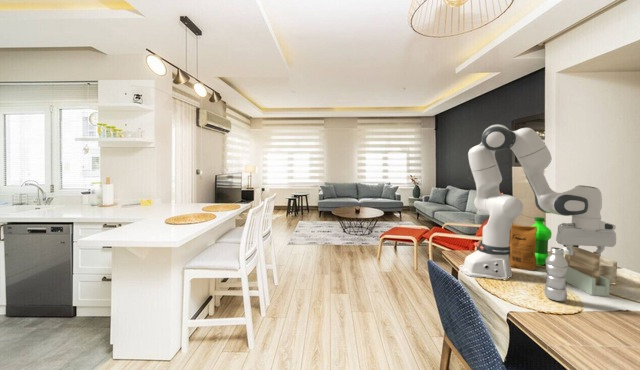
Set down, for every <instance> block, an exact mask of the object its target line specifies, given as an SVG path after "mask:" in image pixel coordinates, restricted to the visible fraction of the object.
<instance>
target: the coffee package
mask: <svg viewBox="0 0 640 370" xmlns="http://www.w3.org/2000/svg"><path fill="white" fill-rule="evenodd" d="M536 232H537V227H536V226H532V225H518V224H514V223H513V224H512V226H511V230H510V241H509V246H510V257H509V260H510V268H517V269H520V270H527V271H535V270H536V268H537V264H536V257H535V248H536Z"/></svg>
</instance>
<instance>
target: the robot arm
mask: <svg viewBox="0 0 640 370" xmlns="http://www.w3.org/2000/svg"><path fill="white" fill-rule="evenodd" d="M507 149H510V151H512V152H513V154H514V155H515V157H516V158H517V161H518V163H519V164H520V166H521V167H522V170H523V172H524V173H523V174H524V175H525V178H526V179H527V182H528V183H529V187H530V188H531V190H532V192H533V194H534V203H535V206H536V208H537V209H538V210H539V211H541V212H542V213H545V214H553V215H556V216H557V215H558V216H564V217H570V216H571V223H570V222H569V223H566V222H562V223H560V224H559V225H557V231H556V237H555V241H556V242H557V243H558V244H560V245H562V246H563V245H566V248H567V249H568V250H569V251H568V254H569V255H574V256H575V251H573V250H572V248H573V245H579V247H580V246H584V247H585V246H586V247H587V246H588V247H596V248H597V249H596V250H595V251H593V253H595V254H598V255H600V257H602V253H603V252H604V250H605V248H607V247H609V248H612V247H613V248H614V247H615V246H616V244H617V233H616V231H615V230H616V228H617V227H616V225H615V224H612V223H609V222H606V221H603V220H602V215H601V210H602V208H603V207H602V206H603V194H602V192H601V190H600V189H599V188H598V187H595V186H590V185H589V186H588V185H582V184H581V185H576V186H574V187H573V188H572V189H568V190H567V191H563V192H558V191H554V190H553V189H552V188H551V187H550V185H549V183H548V180H547V179H546V176H545V174H544V171H545V169H547V168H548V167H549V165H550V164H551V162H552V158H553V157H552V154H551V152H550V150H549V148H548V146H547V145H546V143H545V142H544V140H543V139H542V138H541V137H540V136H539V134H538V133H537V132H536V131H535V130H534V129H533V128H531V127H523V128H522V127H521V128H519V129H517V130H510V129H509V128H508V127H507V126H506V125H504V124H501V123H498V124H497V123H496V124H491V125H489V126H488V127H486V128H485V129H484V131H483V132H482V135H481V141H480V143H479V144H477V145H475V146H473V147H470V148H469V150H468V153H467V157H468V163H469V167H470V170H471V174H472V176H473V180H474V183H475V188H476V196H475V198H474V201H473V202H474V203H473V204H474V207H475V208H476V210H478V211H479V212H480V213H482V214H486V215H488V217H489V218H488V221H487V223H486V224H484V225H483V226H482V237H481V238H482V239H481V243H479V242H474V243H473V245H474V246H475V248H477V250H476V251H474V252H472V253H470V254H469V255H466V257H465V258H464V261H463V264H460V265H458V269H459V271H461V273H463V274H464V275H467V276H469V277H474V278H481V277H486V278H485V279H490V278H497V279H496V280H498V279H505V280H504V281H507V280H508V279H509V278H508V277H511V276H512V275H513V273H512V267H510V260H509V257H510V246H509V244H510V238H511V237H510V235H511V226H512V224H514V221H515V220H516V219H517V218H518V217H520V216H521V215H522V213H523V211H524V204H523V202H522V200H520V198H517V197H515V196H513V195H510V194H504V193H501V192H500V184H501V183H502V181H503V177H502V173H501V171H500V168H499V164H498V162H497V159H496V151H501V150H502V151H503V150H507ZM512 277H513V276H512ZM512 277H511V278H512ZM507 278H508V279H507ZM506 279H507V280H506Z"/></svg>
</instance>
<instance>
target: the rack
mask: <svg viewBox="0 0 640 370" xmlns="http://www.w3.org/2000/svg"><path fill="white" fill-rule="evenodd" d="M563 256H564V258H565V259H566V260H567V262H568V261H569V256H570V255H569V254H566V253H564V255H563ZM617 273H618V261H615V260H612V259H610V258H606V257H604V256H601V257H600V262H599V275H600V276H603V277H605V278H607V279H610V283H616V284H617Z"/></svg>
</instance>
